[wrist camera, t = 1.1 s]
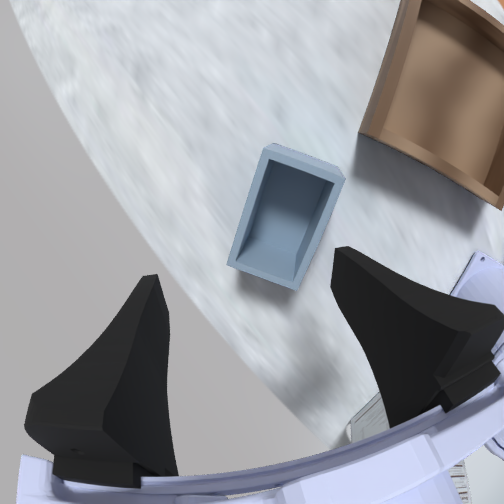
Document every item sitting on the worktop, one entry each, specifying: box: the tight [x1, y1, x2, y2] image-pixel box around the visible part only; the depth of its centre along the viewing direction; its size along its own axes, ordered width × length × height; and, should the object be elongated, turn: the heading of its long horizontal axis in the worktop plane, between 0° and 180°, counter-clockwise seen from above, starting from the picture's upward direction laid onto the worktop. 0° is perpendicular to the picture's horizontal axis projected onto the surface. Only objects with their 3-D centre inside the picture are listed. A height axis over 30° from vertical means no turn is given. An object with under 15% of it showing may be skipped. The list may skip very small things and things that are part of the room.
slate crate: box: [226, 143, 346, 291], centre depth 20 cm, size 5×8×5 cm, turn 162°
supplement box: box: [351, 392, 472, 504], centre depth 22 cm, size 10×9×17 cm
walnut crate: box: [358, 0, 504, 211], centre depth 14 cm, size 12×14×4 cm
